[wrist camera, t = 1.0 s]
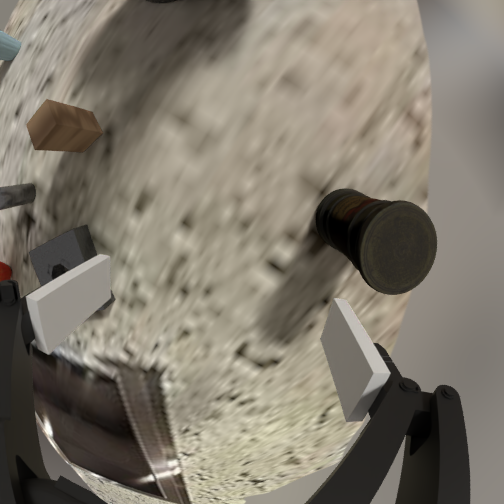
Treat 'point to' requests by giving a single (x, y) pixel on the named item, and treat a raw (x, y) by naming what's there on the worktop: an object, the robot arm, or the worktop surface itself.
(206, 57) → the worktop surface
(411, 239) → the container
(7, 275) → the apple
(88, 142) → the square bit
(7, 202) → the round bit
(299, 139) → the worktop surface
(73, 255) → the holder plate
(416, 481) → the robot arm
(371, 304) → the worktop surface
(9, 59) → the cup
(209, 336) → the worktop surface
